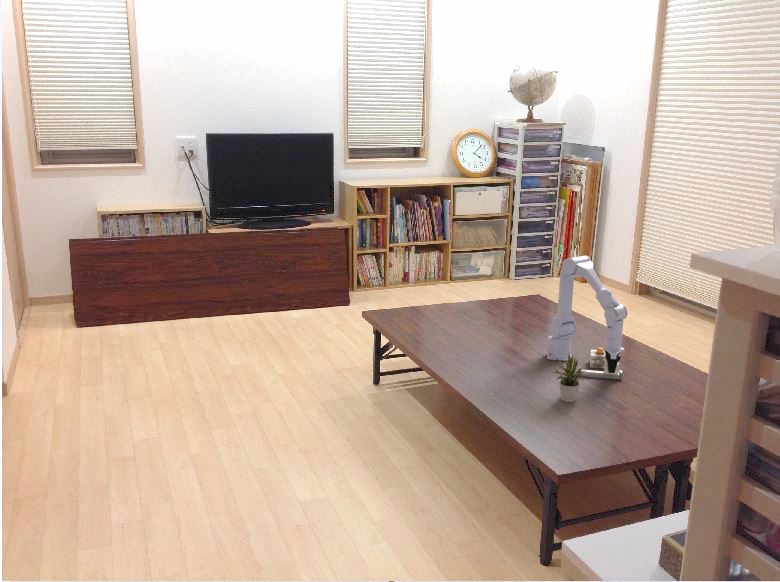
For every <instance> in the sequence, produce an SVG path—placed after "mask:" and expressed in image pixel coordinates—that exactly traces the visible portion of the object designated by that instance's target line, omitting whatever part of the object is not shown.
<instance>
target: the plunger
mask: <svg viewBox="0 0 780 582" xmlns="http://www.w3.org/2000/svg"><path fill="white" fill-rule="evenodd" d="M596 350H597V354H603V351H604V347H600V346H598V347H597V349H596Z"/></svg>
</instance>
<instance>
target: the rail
mask: <svg viewBox="0 0 780 582" xmlns="http://www.w3.org/2000/svg"><path fill="white" fill-rule="evenodd" d="M581 367H582V366H580V365H579V366H578V370H579V369H580V368H581ZM581 371H586V372H582V373H580V374H579V375H578V376H579V378H581V377H584V378H585V377H587V378H598V379H605V378H604V370H603V371H601V370H593V369H583V368H582V369H581V370H580V371H579V372H581ZM579 372H578V373H579ZM578 373H577V374H578ZM606 379H608V380H612V379H611V378H606ZM617 380H618V381H623V369H619V371H618V379H617Z"/></svg>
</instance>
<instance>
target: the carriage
mask: <svg viewBox="0 0 780 582" xmlns="http://www.w3.org/2000/svg"><path fill="white" fill-rule="evenodd" d="M619 370H620V361H619V362H618V364H617V366H616V370H615V373H609V372H608V364H607V360H605V365H604V368H603V371H604V378H603V379H607V378H611V379H610V380H618V373H619Z"/></svg>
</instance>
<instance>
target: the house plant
mask: <svg viewBox="0 0 780 582" xmlns="http://www.w3.org/2000/svg"><path fill="white" fill-rule="evenodd" d="M570 354H571V353H570ZM570 354H569V352H568V360H567V361H565V366H566V368H565V367H564V364H563V362H562V360H559V359H558V358H556V357H555V358H556V359H557V360H556V361H559V363H560V364H561V365H558V364H555V363H551V364H552V365H553V366H555V367H558V368H559V369H560V370H561V371H559V370H558V369H557V368H554V367H553V369H554V370H555V371H553V372H552V374H556V375H559V376H558V377H557V378H556V380H559V381H558V382H559V391H560V393H559V394H560V399H561V401H564V402H566V403H573V402H575V401H577V398H578V393H579V390H580V389H579V388H580V385H581V384H580V381H581V380H582V381H583V382H585V380H584V379H583V378H582V379H581V378H580V377H579V376H578V375H579V374H580V373H582V372H586V371H581V372H579V371H580V370H581V369H582V370H583V368H584V367H585V365H586V363H584V364H583V365H582V366H581V368H580V369H579V368H578V369H577V366H578V362H579V360H578V357H576V356H575V355H571V356H570ZM552 357H553V356H552ZM576 369H577V370H576ZM578 372H579V373H578Z"/></svg>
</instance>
